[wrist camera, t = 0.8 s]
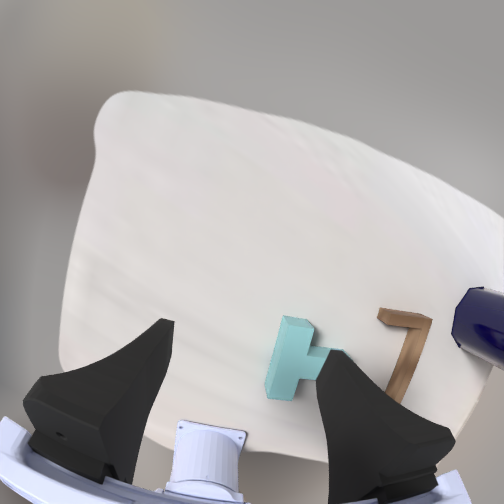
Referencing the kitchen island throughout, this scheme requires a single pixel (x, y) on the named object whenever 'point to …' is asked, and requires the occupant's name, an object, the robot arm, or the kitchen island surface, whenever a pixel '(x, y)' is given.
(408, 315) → the wooden drawer handle
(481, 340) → the bottle
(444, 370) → the kitchen island surface
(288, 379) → the t block
